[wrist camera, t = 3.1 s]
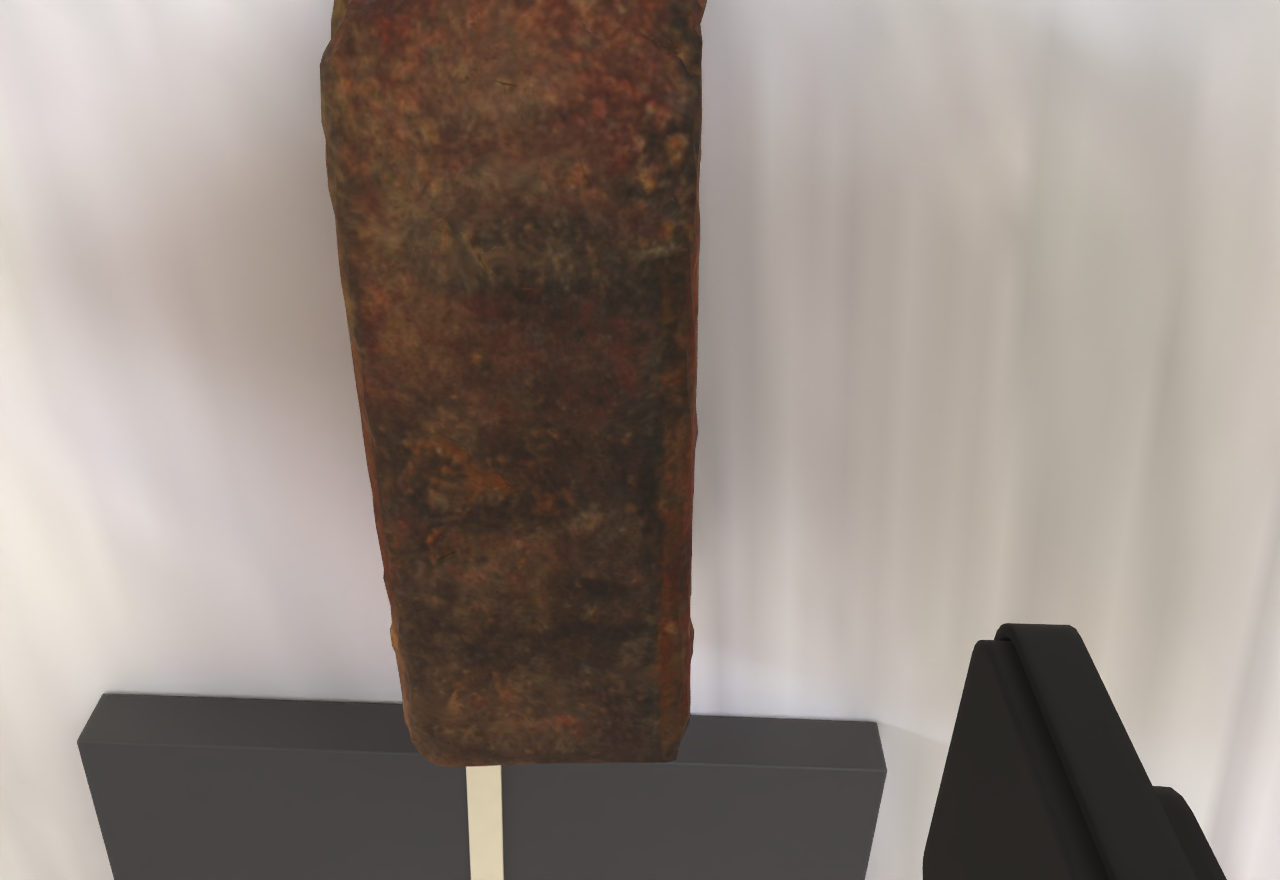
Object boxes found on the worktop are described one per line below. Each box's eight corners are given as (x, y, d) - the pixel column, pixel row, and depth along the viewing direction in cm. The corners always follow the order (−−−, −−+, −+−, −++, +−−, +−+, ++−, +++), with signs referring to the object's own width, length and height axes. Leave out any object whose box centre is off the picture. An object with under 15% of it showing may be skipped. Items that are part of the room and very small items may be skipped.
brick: (687, 568, 20) (697, 780, 16) (450, 569, 20) (401, 780, 16) (701, -129, 15) (719, -67, 11) (377, -127, 15) (276, -66, 11)
